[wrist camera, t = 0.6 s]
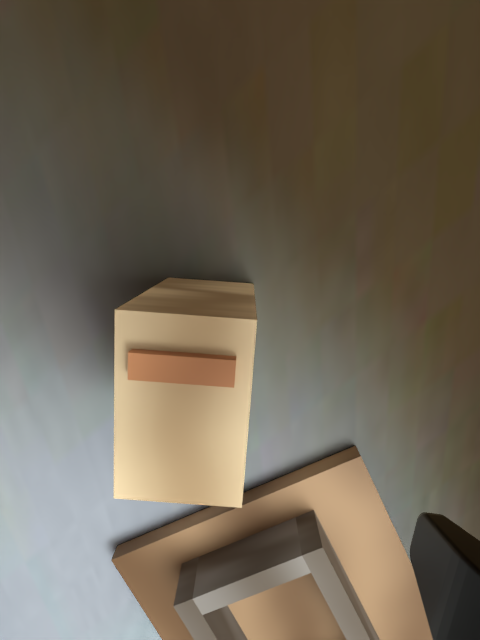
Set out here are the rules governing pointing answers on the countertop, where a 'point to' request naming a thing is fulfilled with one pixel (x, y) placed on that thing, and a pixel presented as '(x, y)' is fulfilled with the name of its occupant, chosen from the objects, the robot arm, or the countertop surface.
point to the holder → (281, 564)
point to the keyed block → (184, 392)
